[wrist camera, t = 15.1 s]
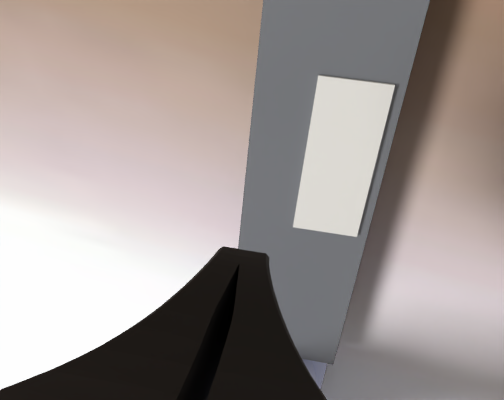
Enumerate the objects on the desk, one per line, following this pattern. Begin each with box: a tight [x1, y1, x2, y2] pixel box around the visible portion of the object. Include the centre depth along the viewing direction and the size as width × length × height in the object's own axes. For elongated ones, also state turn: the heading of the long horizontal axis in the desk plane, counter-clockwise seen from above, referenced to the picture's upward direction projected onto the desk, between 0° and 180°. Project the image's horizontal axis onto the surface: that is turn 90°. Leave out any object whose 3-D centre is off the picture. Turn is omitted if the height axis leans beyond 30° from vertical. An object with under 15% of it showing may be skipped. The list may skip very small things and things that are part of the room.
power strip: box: [238, 0, 430, 364], centre depth 19 cm, size 24×6×2 cm, turn 174°
